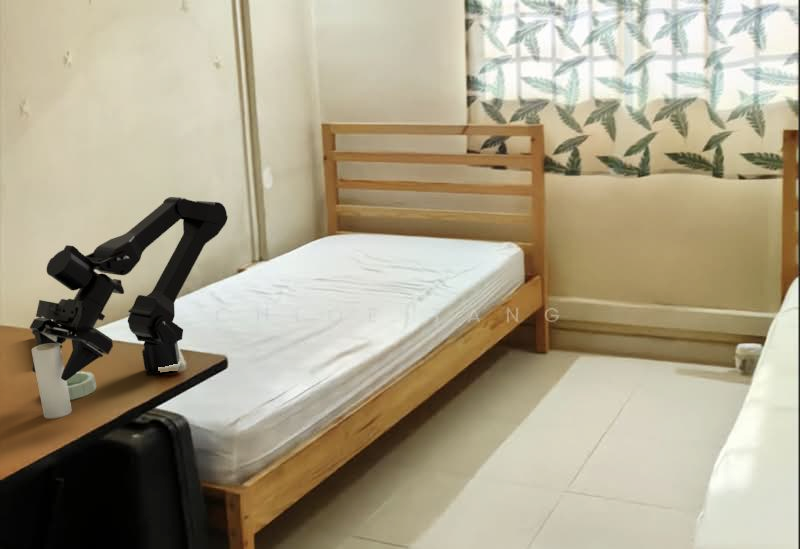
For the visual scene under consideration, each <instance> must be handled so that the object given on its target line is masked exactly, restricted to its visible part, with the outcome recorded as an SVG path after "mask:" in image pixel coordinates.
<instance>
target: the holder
mask: <svg viewBox="0 0 800 549" xmlns="http://www.w3.org/2000/svg"><path fill="white" fill-rule="evenodd" d="M66 381H67V386H68V392H69V397H70V401H71V400H75V399H79V398H82V397H85V396H88V395H90V394H91V393H94V392H95V390H96V389H97V383H96V378H95V375H94V374H93V373H92V372H91V371H79V372H77V373H76V374H75V375H73V376H72V377H71V378H69V379H68V380H66Z"/></svg>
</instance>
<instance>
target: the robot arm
mask: <svg viewBox="0 0 800 549" xmlns="http://www.w3.org/2000/svg"><path fill="white" fill-rule="evenodd" d="M180 220H182V226H183V234H182V236H181V238H180V240H179V242H178V243H177V245H176V247H175V248H174V251H173V253H172V254H171V256H170V258H169V259H168V262H167V264H166V265H165V267H164V269H163V271H162V273H161V275H160V276H159V278H158V280H157V282H156V284H155V286H154V287H153V290H152V291H151V292H150V293H149V294H147V295H142V294H138V295H137V296H136V298H135V300H134V303H133V305H132V307H131V308H130V309H129V310H128V313H129V315H128V318H127V323H128V327H129V330H130V332H132V334H134V336H135V338H136V339H137V341H139V342H143V349H142V351H141V353H142V360H143V365H144V367H143V368H144V369H145V375H149V376H150V375H158V374H161V373H160V371H158V367H165V366H169V365H173V364H178V362H179V359H181V358H180V352H179V346H178V345H179V344H178V342H180V341H182V340H183V334H184V329H183V328H182V327H180V326H179V325H178V324H177V323H175V322H174V319H175V302H176V300H177V297H178V296H179V293H180V292H181V290H182V288H183V287H184V284H185V283H186V281H187V279H188V277H189V276H190V273H191V272H192V269H193V267H194V266H195V264H196V262H197V261H198V260H197V259H198V258H199V256H200V254H201V253H202V251H203V249H204V247H205V245H206V244H207V243H209V242H210V241H212V240H213V239H214V238H215V237H217V236H218V235H219V233H220V232H221V231H222V229H223V228H224V227H225V226H226V224H227V220H228V214H227V210H226V207H225V206H224V204H222V203H221V202H218V201H206V200H205V201H203V200H202V201H201V200H195V201H194V200H190V199H186V198H185V197H176V196H170V197H168V198H165V199H163V202H162V203H161V204H160V205H158V206H157V207H156V208H155V209H153V211H152V212H150V213H149V214H148V215H147V216H146V217H144V218H143V219H142V220H140V221H139V222H138V223H137V224H136V225H134V227H131V229H129V231H127V232H125V233H124V234H122V235H119V236H117V237H114V238H110V239H109V240H107V241H105V242H103V243H101V244H99V245H98V246H96V248H95V249H94V250H93V252H91V253H89V254H87V255H84V254H83V253H82V252H81V251H79V250H78V248H76V247H75V246H74V245H69V244H68V245H65V246H64V249H62V250H60V251H58V252H57V253H56V254H54V256H52V258H50V259H49V260H48V263H47V265H46V269H45V270H46V274H47V275H48V276H50V277H52V278H53V279H55V281H57V282H58V283H60V284H62V285H63V287H66V288H67V289H69V290H71V291H77V290H78V291H77V293H76V294H75V296H74V298H68V299H65V298H61V299H60V300H59V301H58V303H57V302H53V301H47V300H42V299H39V301H38V304H37V310H36V314H35V317H37V318H33V321H32V323H31V324H30V326H29V330H31V333H32V335H34V337H35V340H36V346H39V345H42V344H47V343H58V344H60V348H61V349H63V345H61V344H63V343H65V342H66V340H70V341H71V346H72V352H71V354H70V356H69V358H68V359H67V361H66V362H67V363H66V364H65V365H64V371H63V373H62V376H61V379H63V380H64V381H66V380H68V379H69V378H71V377H72V376H73V375H75V374H76V373H77V372H81V371H82V370H83V369H84V368H85V367H86V366H89V365H90V364H91V363H93V362H94V361H96V360H97V359H99V358H102V357H103V356H104V355H110V352H111V351H112V349H113V347H114V343H113V339H112V338H111V337H109V336H108V335H106V334H105V333H103V332H101V331H100V330H99V329H97V328H95V326H96V323H97V322H98V321H104V319H105V317H106V315H104V314H103V311H104V310H105V307H106V306H107V304H108V302H109V300H110V299H111V296H112V295H113V294H119V295H124V294H125V289H124V287H123V285H122V280H121V279H116V278H113V279H112V278H111V277H110V276H108V275H114V276H115V275H116V276H126V275H128V274H129V273H131V272H132V270H134V268H135V267H136V266H137V265H138V263H139V262H140V261H141V258H142V255H143V253H144V251H145V250H146V249H147V248H149V246H151V245H152V244H153V243H154V242H155V241H156V240H157V239H159V238H160V237H161V236H162V235H164V233H166V232H167V231H169V229H171V227H173V226H174V225H175V224H177V223H178V222H179V221H180ZM95 270H97V271H98V272H100V273H98V272H96V271H95ZM107 274H108V275H107ZM38 317H39V318H38ZM41 317H44V318H41ZM52 320H53V321H52ZM31 371H32V372H34V373H35V374H36V371H35V366H34V363H33V364H32V368H31Z"/></svg>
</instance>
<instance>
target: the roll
mask: <svg viewBox="0 0 800 549" xmlns="http://www.w3.org/2000/svg"><path fill="white" fill-rule="evenodd" d="M60 345H61V344H58V343H47V344H42V345H39V346H37V345H36V346H34V347H33V348H32V349H31V354H32V360H33V364H34V366H35V371H36V373H35V375H36V380H37V385H38V392H39V395H40V397H39V398H40V401H41V407H42V413H43V416H44V418H45V419H57V418H63V417H65V416H68V415H69V414H71V413H72V412H73V408H72V404H71V400H70V397H69V392H68V386H67V381H64V380H63V379H61V376H62V373H63V371H64V368H65V365H64V361H63V352H62V348H60ZM61 352H62V353H61Z"/></svg>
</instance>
